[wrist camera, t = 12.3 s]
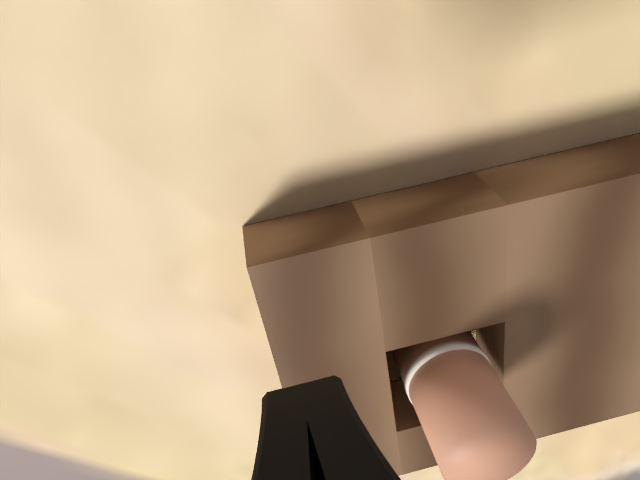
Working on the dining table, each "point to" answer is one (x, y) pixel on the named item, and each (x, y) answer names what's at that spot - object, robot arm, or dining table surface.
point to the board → (467, 289)
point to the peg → (465, 409)
